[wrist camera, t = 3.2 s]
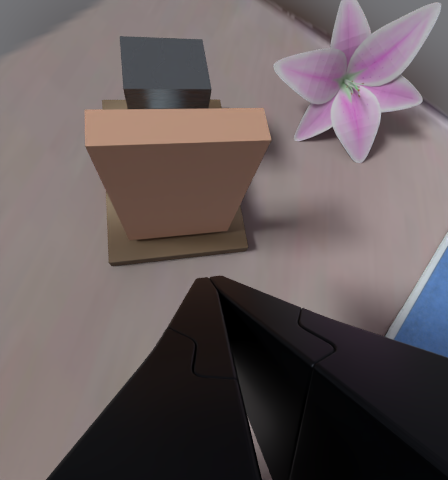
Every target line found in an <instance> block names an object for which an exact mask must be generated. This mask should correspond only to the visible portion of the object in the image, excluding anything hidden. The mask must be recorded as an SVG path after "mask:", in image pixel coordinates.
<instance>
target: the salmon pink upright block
mask: <svg viewBox="0 0 448 480" xmlns="http://www.w3.org/2000/svg"><path fill="white" fill-rule="evenodd" d="M270 142H271V136H270V132H269V128H268V124H267V120H266V116H265V112H264V108H219V109H185V108H159V109H114V110H85V147H86V149H87V151H88V153H89V155H90V157H91V159H92V162H93V164H94V166H95V168H96V170H97V172H98V174H99V177H100V179H101V181H102V183H103V185H104V187H105V189H106V192H107V194H108V196H109V198H110V200H111V202H112V204H113V207H114V209H115V211H116V213H117V215H118V217H119V219H120V222H121V224H122V226H123V228H124V230H125V232H126V234H127V236H128V239H129V240H139V239H149V238H160V237H170V236H181V235H191V234H201V233H212V232H222V231H228V229H229V227H230V224H231V222H232V220H233V218H234V216H235V214H236V212H237V210H238V208H239V206H240V204H241V202H242V200H243V198H244V196H245V194H246V192H247V189H248V187H249V185H250V183H251V181H252V179H253V177H254V175H255V173H256V171H257V169H258V167H259V165H260V163H261V161H262V159H263V157H264V154H265V152H266V150H267V148H268V146H269V144H270Z"/></svg>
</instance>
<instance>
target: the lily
mask: <svg viewBox="0 0 448 480" xmlns="http://www.w3.org/2000/svg"><path fill="white" fill-rule="evenodd" d="M440 11H441V3H437V2H435V3H432V4H429V5H426V6H424V7H422V8H419V9H417V10H415V11H413V12H411V13H409V14H407V15H405V16H403V17H401V18H399V19H397V20H395V21H393V22H391V23H389V24H387V25H385V26H383V27H382V28H380V29H378V30H377V31H375V32H373V33H372V34H371V31H370V27H369V25H368V22H367V19H366V17H365V15H364V13H363V11H362V9H361V7H360V5H359V3H358V2H357V0H341V3H340V7H339V10H338V13H337V17H336V21H335V26H334V30H333V35H332V40H331V46H330V48H325V49H319V50H314V51H309V52H305V53H300V54H296V55H293V56H289V57H286V58H283V59H281V60H279V61H277V62H276V63H275V64H274V65H273V66H274V71H275V72H276V73H277V75H278V76H279V77H280V78H281V79H282V80H283V81H284V82H285V83H286V84H287V85H288V86H289V87H290V88H292V89H293V90H294V91H295V92H296V93H298V94H299V95H300V96H301V97H303V98H304V99H305V100H307V101H309V102H310V105H309V107H308V108H307V110H306V112H305V114H304V116H303V118H302V120H301V122H300V124H299V126H298V128H297V131H296V133H295V136H294V140H296V141H302V140H305V139H308V138H310V137H313V136H315V135H318V134H320V133H322V132H324V131H326V130H328V129H330V128H331V127H333V129H334V131H335V133H336V135H337V137H338V139H339V140H340V142H341V143H342V145H343V147H344V148H345V150H346V151H347V153H348V154H349V155H350V157H351V158H352V159H353V160H354V161H355V162H357V163H362V162H363V161H364V160H365V158H366V157H367V155H368V153H369V151H370V149H371V146H372V144H373V142H374V139H375V136H376V134H377V131H378V127H379V124H380V118H381V112H391V111H397V110H402V109H406V108H410V107H414V106H416V105H419V104H420V103H421V102H422V96H421V95H420V93H419V92H418V91H417V89H416V88H415V87H414V86H413V85H412V84H411V83H410V82H409V81H408V80H407V79H405V78H404V77H403V76H402V75H401V73H402V72H403V71H404V70H405V69H406V68H407V66H408V65H409V64H410V63H411V61H412V60H413V58H414V57H415V55H416V54H417V53H418V51H419V50H420V48H421V46H422V45H423V43H424V42H425V40H426V38H427V36H428V35H429V33H430V31H431V30H432V28H433V26H434V24H435V22H436V20H437V18H438V15H439V13H440Z"/></svg>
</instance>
